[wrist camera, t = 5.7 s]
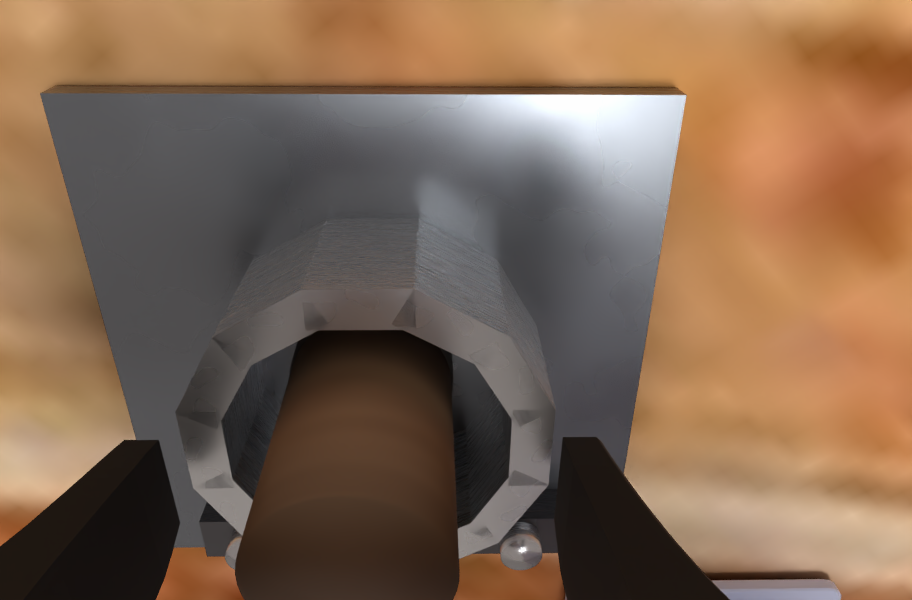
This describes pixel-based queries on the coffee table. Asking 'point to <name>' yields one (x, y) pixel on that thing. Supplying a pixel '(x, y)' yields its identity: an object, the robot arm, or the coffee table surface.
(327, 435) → the dowel
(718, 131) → the coffee table surface
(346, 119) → the cup bracket
